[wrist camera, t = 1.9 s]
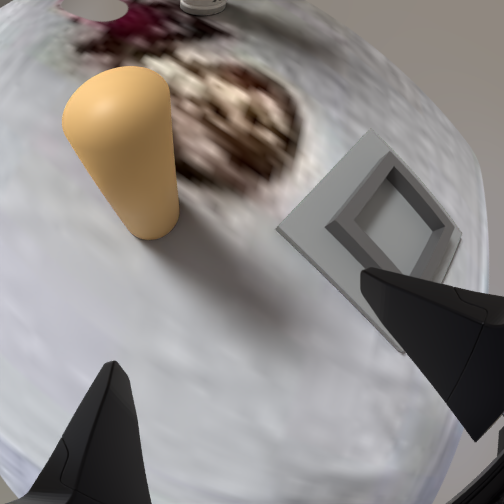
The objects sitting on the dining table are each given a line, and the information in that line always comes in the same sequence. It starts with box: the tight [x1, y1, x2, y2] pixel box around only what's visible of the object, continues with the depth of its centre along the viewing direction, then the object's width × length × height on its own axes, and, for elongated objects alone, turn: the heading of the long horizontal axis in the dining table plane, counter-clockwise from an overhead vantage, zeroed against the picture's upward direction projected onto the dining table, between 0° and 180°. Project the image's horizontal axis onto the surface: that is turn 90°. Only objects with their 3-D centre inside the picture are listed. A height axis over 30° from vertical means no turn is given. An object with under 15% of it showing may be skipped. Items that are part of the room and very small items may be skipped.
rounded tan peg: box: [62, 66, 180, 240], centre depth 16 cm, size 5×5×13 cm
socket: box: [276, 128, 462, 352], centre depth 24 cm, size 16×16×3 cm
